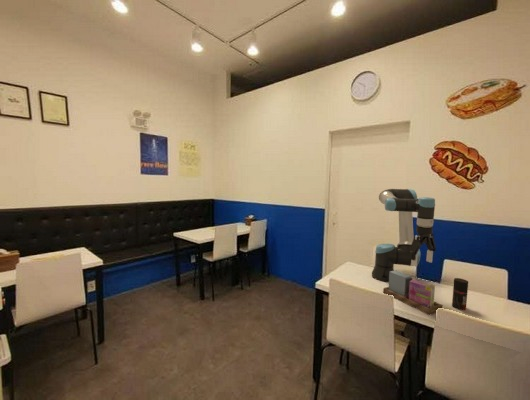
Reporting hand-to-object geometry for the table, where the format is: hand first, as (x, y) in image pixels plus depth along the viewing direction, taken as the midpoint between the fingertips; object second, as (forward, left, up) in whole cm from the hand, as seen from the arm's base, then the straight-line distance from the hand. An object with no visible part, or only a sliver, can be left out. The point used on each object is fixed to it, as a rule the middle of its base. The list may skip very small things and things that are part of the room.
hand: (421, 263), depth 136 cm
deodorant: (+13, +14, -22) cm, 29 cm away
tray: (-3, -3, -22) cm, 22 cm away
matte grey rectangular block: (-9, -3, -21) cm, 23 cm away
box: (+3, -4, -21) cm, 21 cm away
